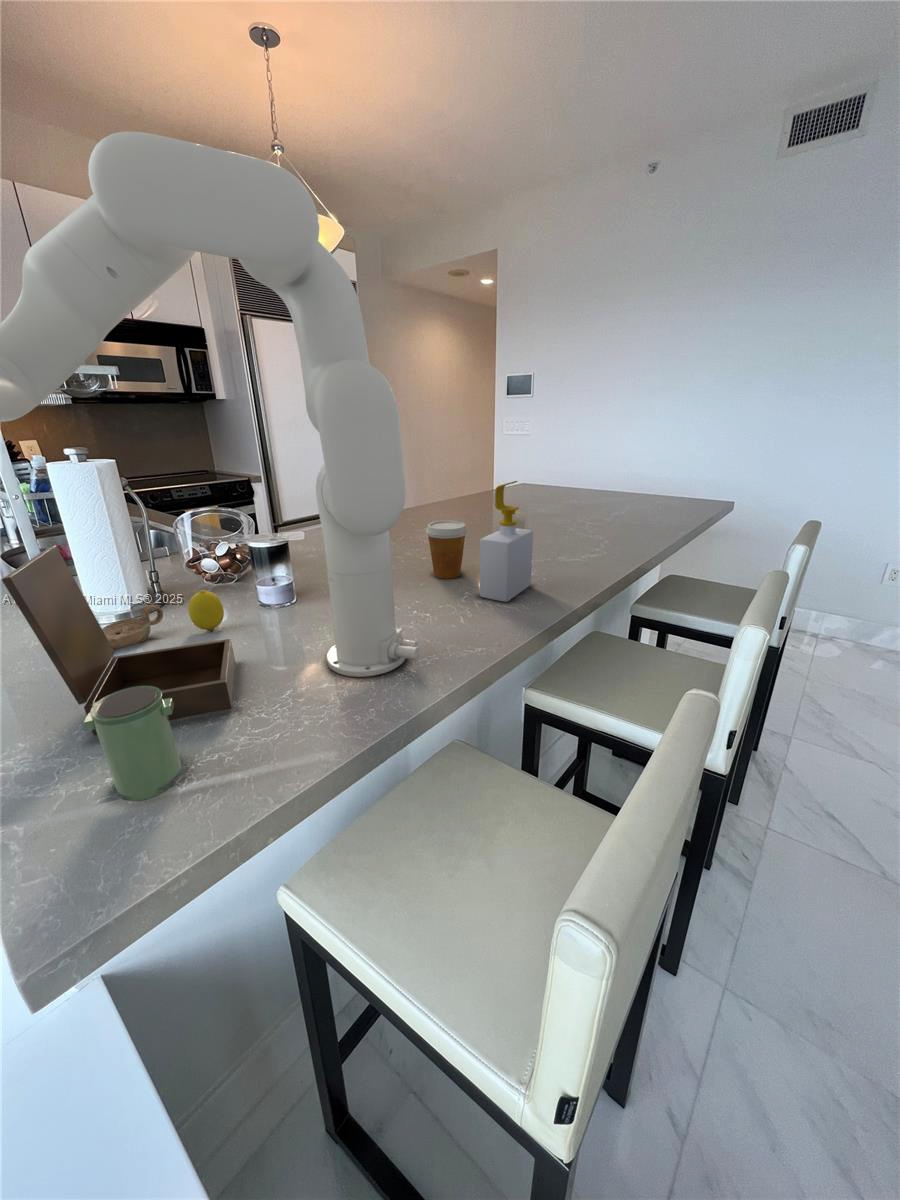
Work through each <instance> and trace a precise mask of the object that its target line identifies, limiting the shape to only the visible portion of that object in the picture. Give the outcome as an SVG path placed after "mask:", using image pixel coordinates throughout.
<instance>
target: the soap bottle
mask: <svg viewBox="0 0 900 1200" xmlns="http://www.w3.org/2000/svg"><path fill="white" fill-rule="evenodd" d="M515 483H518V480H513V481H510V482H506V483H503V484H499V485H497V486H496V487H495V490H494V491H495V493H494V507H495V509H496V510H497V511H500V513H501V515H503V519H502V520H500V521H499V522H498V523H499V530H497V531H494V532H493V533H490V534H488V535H485V536H483V537H481V538H480V541H479V597H480V598H485V599H489V600H494V601H497V602H504V603H506V602H509V601H510V600H511V599H513V598H515V597H516V596H518V595H519V594H520V593H522V592H523V591H524V590H526V589H527V588H529V587H530V586H531V582H532V565H533V543H534V542H533V541H534V530H532V529H525V528H518V527H517V521H516V520H514V519H513V515H515V514H516V511H517V510H519V509H520V508H519V506H514V505H513V506H512V505H511V506H510V505H505V501H504V500H505V497H504V495H505V488H506V486H509V485H513V484H515Z"/></svg>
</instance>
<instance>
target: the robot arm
mask: <svg viewBox="0 0 900 1200" xmlns="http://www.w3.org/2000/svg"><path fill="white" fill-rule="evenodd" d="M87 165H88V168H87V171H88V173H87V175H88V179H89V185H90V189H91V191H92V195H90V196H89V197H87V199H86V200H84V201H83V202H82V203H81V204H80V205H79V206H77V208H75V209H74V210H73V211H72V212H71V213H70V214H68V215H67V216H66V217H65V218H64V219H62V220H61V221H60V222H59V223H58V224H57V225H56V226H55V227H53V228H52V229H50V230H49V231H48V232H47V233H46V234H45V235H43V236H42V237H41V238H40V239H39V240H37V241H36V242H35V243H33V244H32V246H30V247H29V248H28V250H27V251H26V253H25V255H24V258H23V262H22V273H21V275H22V283H21V284H22V285H21V291H20V295H19V297H18V300H17V302H16V304H15V305H14V307H13V309H12V310H11V311H10V313H8V315H7V316H6V317H5V318H4V319H3V320H2V321H1V322H0V423H3V422H4V423H5V422H11V421H14V420H18V419H20V418H22V417H24V416H26V415H27V414H28V413H30V412H32V411H33V410H34V409H35V408H37V407H38V406H39V405H40V404H41V403H42V402H43V401H45V400H46V399H47V398H48V397H49V396H51V395H52V394H54V392H55V391H56V390H58V389H59V388H60V387H61V386H62V385H63V384H64V383H65V382H66V381H68V380H69V379H70V378H71V376H72V375H74V374H75V373H76V371H78V369H79V368H80V367H81V366H82V365H83V364H84V362H85V361H86V360H87V359H88V358H89V357H90V356H91V354H92V353H93V352H95V350H96V349H97V348H98V347H99V346H100V345H101V344H102V343H103V342H104V340H105V338H106V337H107V336H108V335H109V333H110V332H111V331H113V329H114V328H116V326H117V325H119V324H120V323H121V322H122V321H123V320H124V319H125V318H127V317H128V316H129V315H130V314H131V313H132V312H133V311H134V310H136V309H137V308H138V307H139V306H140V305H141V304H142V303H144V302H145V300H148V298H149V297H150V296H152V295H153V294H154V293H155V292H156V291H157V290H158V289H159V288H161V287H162V286H163V285H164V284H165V283H166V282H167V281H169V280H170V279H171V278H172V277H173V276H174V275H176V273H178V272H179V271H180V270H181V269H182V268H183V267H185V265H186V264H187V263H188V262H190V261H191V260H192V258H193V257H194V255H195V254H196V253H201V254H202V253H203V254H207V255H208V254H209V255H214V256H220V257H224V258H232V259H237V260H238V262H239V263H240V265H241V266H242V268H243V269H244V270H245V271H246V273H247V274H248V275H249V276H250V277H252V278H253V279H254V280H255V281H257V282H258V283H260V284H262V285H263V286H265V287H267V288H268V289H270V290H271V291H272V292H274V293H275V294H276V295H277V296H278V297H279V298H280V299H281V300H282V302H283V303H284V304H285V306H286V308H287V310H288V312H289V315H290V317H291V320H292V324H293V328H294V334H295V340H296V344H297V349H298V354H299V360H300V367H301V374H302V381H303V385H304V387H303V388H304V396H305V398H304V399H305V408H306V413H307V416H308V418H309V421H310V422H311V424H312V426H313V427H314V429H315V430H316V431H317V432H318V433H319V438H320V439H319V440H320V445H321V451H322V457H323V464H322V466H321V468H320V469H319V472H318V474H317V477H316V481H315V482H316V483H315V496H316V497H315V498H316V504H317V509H318V516H319V521H320V525H321V526H320V527H321V532H322V538H323V539H322V540H323V545H324V547H323V548H324V553H325V554H324V555H325V563H326V574H327V583H328V591H329V600H330V608H331V609H330V610H331V617H332V628H333V635H334V645H333V646H331V647H330V648H329V650H328V651H327V654H326V663H327V666H328V667H329V669H330V670H331V671H334V673H337V674H339V675H342V676H347V677H354V678H364V677H374V676H380V675H382V674H386V673H388V672H392V671H394V670H395V669H397V668H398V667H400V666H401V665H402V664H404V662H405V660H411V661H412V660H413V661H416V660H418V658H419V655H420V648H419V647H418V641H417V640H411V639H405V638H404V637H403V629H402V628H398V627H397V628H396V618H395V617H396V616H395V615H396V614H395V597H394V581H393V564H392V563H393V560H392V547H391V539H390V538H391V537H390V530H391V529H392V528H393V527H394V526H395V525H396V524H397V523H398V521H399V520H400V518H401V516H402V514H403V511H404V508H405V504H406V477H405V465H404V454H403V453H404V452H403V444H402V434H401V433H402V432H401V424H400V415H399V408H398V403H397V399H396V396H395V393H394V391H393V388H392V387H391V384H390V383H389V381H388V380H387V378H386V376H384V375H383V373H382V372H381V371H380V370H378V369H377V368H376V367H375V366H374V365H372V364H370V358H369V352H368V350H369V349H368V345H367V338H366V333H365V326H364V319H363V314H362V310H361V305H360V302H359V298H358V294H357V292H356V289H355V287H354V285H353V283H352V281H351V279H350V277H349V274H347V272H346V271H345V269H344V268H343V266H342V265H341V263H340V262H339V261H338V260H337V259H336V257H335V256H334V255H333V253H331V251H329V249H328V248H327V247H325V246H324V244H323V243H321V242H320V241H319V239H320V219H319V214H318V211H317V206H316V204H315V201H314V199H313V198H312V197H313V196H312V195H311V194H310V192H309V191H308V189H307V187H306V186H305V185H304V184H303V182H302V181H300V179H298V177H296V176H295V175H294V174H293V173H291V172H290V171H289V170H288V169H286V168H285V167H282V166H281V165H279V164H276V163H274V162H273V161H269V160H265V159H262V158H258V157H254V156H250V155H246V154H242V153H238V152H232V151H228V150H223V149H219V148H216V147H215V148H214V147H211V146H208V145H203V144H198V143H194V142H191V141H186V140H183V139H177V138H175V137H169V136H165V135H159V134H154V133H150V132H143V131H127V130H125V131H120V132H119V131H118V132H114V133H111V134H109V135H107V136H105V137H103V138H102V139H100V140H99V141H98V142H97V143H96V144H95V146H94V148H93V150H92V151H91V153H90V155H89V161H88V163H87Z"/></svg>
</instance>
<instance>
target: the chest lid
mask: <svg viewBox="0 0 900 1200" xmlns="http://www.w3.org/2000/svg"><path fill="white" fill-rule="evenodd" d="M1 582H2V583H3V585H4V586H5V588H6V589H7V591H8V593H9V594H10V596H11V597H12V599H13V601H14V603H15V604H16V605H17V607H18V609H19V610H20V612H21V614H22V615H23V617H24V618H25V620H26V622H27V624H28V625H29V627H30V628H31V630H32V631H33V633H34V634H35V635H34V636H36V638H37V640H38V641H39V643H40V645H41V646H42V647H43V650H44V651H45V652H46V655H48V658H49V659H50V661H51V663H52V664H53V665H54V667H55V668H56V670H57V672H58V673H59V675H60V677H61V679H62V680H63V682H64V683H65V685H66V686H67V688H68V690H69V691H70V693H71V694H72V696H73V698H74V699H75V701H76V702H77V704H78V705H79V706H81V705H83V704H86V703H87V701H88V700H89V698H90V696H91V694H92V693H93V691H94V689H95V687H96V686H97V684H98V682H99V680H100V679H101V677H102V675H103V673H104V672H105V670H106V668H107V666H108V665H109V663H110V661H111V660H112V658H113V657H114V656H115V653H116V652H115V649H114V650H113V648H112V647H111V645H110V643H109V641H108V639H107V637H106V636H105V634H104V632H103V630H102V629H103V627H101V624H100V623H99V621H98V619H97V618H96V615H95V614H94V612H93V610H92V608H91V607H90V605H89V603H88V601H87V600H86V597H85V596H84V594H83V592H82V590H81V588H80V587H79V585H78V583H77V581H76V579H75V577H74V575H73V574H72V572H71V570H70V569H69V567H68V565H67V563H66V561H65V560H64V557H63V556H62V553H61V552H60V551H59V548H58V546H57V545H51V546H48V547H47V548H45V549H44V550H43V551H41V552H40V553H38V554H37V555H35V556H33V558H31V559H29V560H27V561H26V562H25V563H23V564H22V565H20V566H18V568H16V569H14V570H13V571H12V572H10V573H8V574H7V575H5V576H3V578H1Z"/></svg>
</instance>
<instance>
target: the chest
mask: <svg viewBox="0 0 900 1200" xmlns="http://www.w3.org/2000/svg"><path fill="white" fill-rule="evenodd" d="M235 669H236V658H235V653H234V649H233V643H232V638H225V639H220V640H219V639H218V640H213V641H206V642H200V643H191V644H186V645H180V646H173V647H167V648H160V649H154V650H153V649H152V650H147V651H140V652H134V653H128V654H122V655H113V657H112V658H111V660H110V662H109V664H108V665H107V667H106V669H105V671H104V672H103V674H102V676H101V678H100V679H99V681H98V683H97V685H96V686H95V688H94V690H93V691H92V693H91V695H90V697H89V698H88V700H87V702H86V703H85V705H84V707H83V709H84V712H85V714H86V716H87V715H88V713H90V711H91V708H92V707H93V706H94V705H95V704H96V703H97V702H98V701H99V700H101V699H102V698H104V697H106V696H108V695H110V694H112V693H114V692H117V691H120V690H123V689H126V688H131V687H136V686H153V687H157V688H159V689H160V690H161V691H162V694H163V699H168V698H172V699H173V703H174V708H173V711H172V714H171V715H168V717H169V721H174V720H180V719H185V718H189V717H194V716H200V715H205V714H209V713H214V712H215V713H216V712H221V711H225V710H230V709H232V708H233V695H234V694H233V693H234V684H235V683H234V682H235ZM91 732H92V735H93V736H98V735H97V732H96V729H93V730H91Z"/></svg>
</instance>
